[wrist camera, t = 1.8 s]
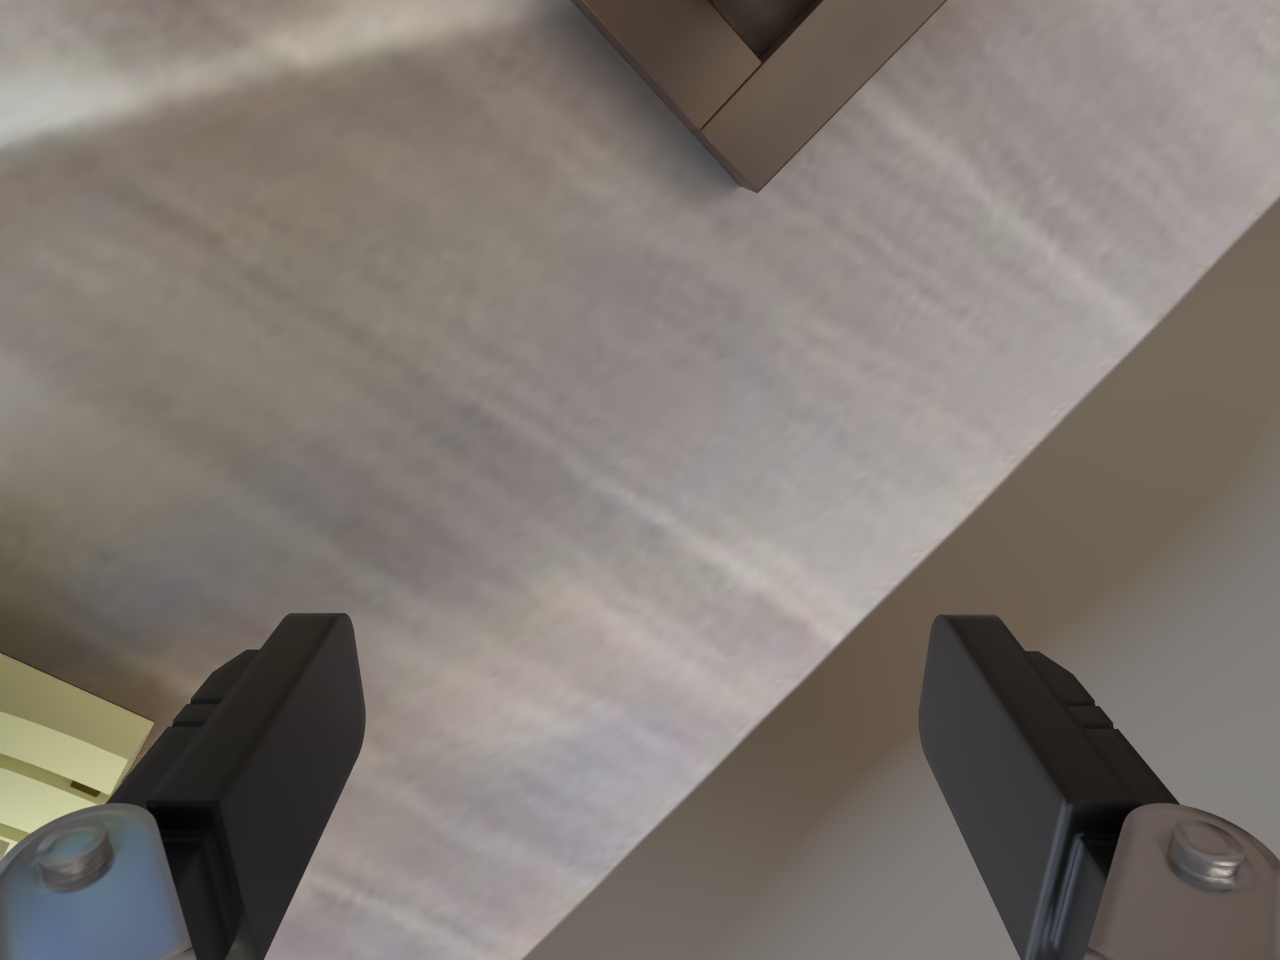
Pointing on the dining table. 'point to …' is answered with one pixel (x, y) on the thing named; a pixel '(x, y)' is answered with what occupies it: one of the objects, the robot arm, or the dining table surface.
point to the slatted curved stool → (57, 749)
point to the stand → (756, 70)
